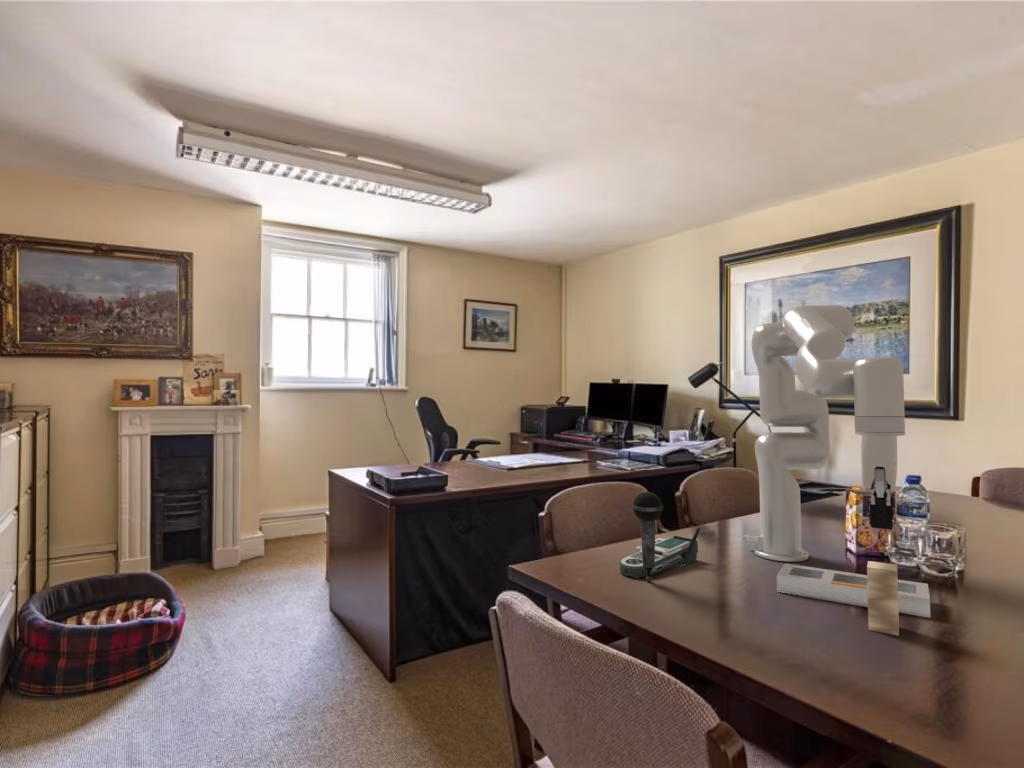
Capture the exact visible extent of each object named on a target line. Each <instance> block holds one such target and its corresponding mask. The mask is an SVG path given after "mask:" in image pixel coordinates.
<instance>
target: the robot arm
mask: <svg viewBox="0 0 1024 768" xmlns="http://www.w3.org/2000/svg"><path fill="white" fill-rule="evenodd" d="M854 329H855V317H854V315H853V314H852V312H851V311H850V309H848V308H847V307H845V306H843V305H838V304H827V305H825V304H823V305H822V304H818V305H814V304H813V305H812V304H811V305H801V306H796V307H793V308H791V309H790V310H788V311H787V312H786V313H785V315H784V317H783V318H782V321H778V322H777V321H776V322H775V321H774V322H769V323H764V324H763V323H762V324H761V325H759V326H757V327H756V328H755V330H754V331H753V334H752V337H751V351H752V356H753V360H754V363H755V366H756V368H757V371H758V372H757V373H758V382H759V383H758V386H759V389H758V390H759V392H758V393H759V414H760V420H761V421H762V423H763V424H764V425H766V426H768V427H774V428H803V430H804V431H802V432H800V431H799V432H792V431H790V432H789V431H788V432H787V431H785V432H779V431H778V432H776V431H775V432H767V433H763V434H762V435H759V436H758V438H756V440H755V442H754V454H755V459H756V460H755V461H756V464H757V472H758V479H759V480H758V483H759V485H758V486H759V516H760V517H759V523H760V525H759V527H760V530H759V531H760V534H759V535H758V534H757V535H756V536H755V535H750V534H749V535H748V534H744V535H743V537H742V538H743V539H742V540H743V542H744V543H745V544H748V545H755V547H754V549H753V551H754V554H755V555H757V556H759V557H761V558H764V559H766V560H771V561H779V562H790V563H791V562H795V563H796V562H803V561H807V560H808V559H809V551H806V550H805V549H802V522H801V521H802V520H801V519H802V518H801V517H802V516H801V514H802V513H801V512H802V510H801V489H800V485H799V482H798V481H797V480H796V479H795V478H794V477H793V475H792V473H791V472H790V471H792V470H793V471H794V470H819V469H824V467H826V466H827V465H828V463H829V461H830V454H831V450H830V449H831V445H830V443H831V442H830V441H831V439H830V415H829V406H828V402H827V400H826V399H830V400H831V399H853V400H854V403H853V404H854V410H853V411H854V435H859V436H861V443H860V444H861V446H860V447H861V452H860V453H861V455H860V457H861V458H860V459H861V462H860V463H861V490H862V491H864V492H867V490H869V489H870V495H871V496H870V503H869V517H870V518H869V519H870V521H869V523H870V527H871V528H872V529H881V530H890V531H891V530H893V528H894V521H893V520H894V504H893V503H894V500H893V499H894V498H893V496H892V494H893V493H894V492H895V490H896V485H897V475H898V437H899V436H900V437H901V436H906V422H905V421H906V420H905V417H906V416H905V390H904V388H905V387H904V383H905V382H904V363H902V361H901V360H900V358H897V357H892V356H881V357H879V356H878V357H877V356H876V357H875V356H873V357H864V358H858V359H854V358H852V359H851V358H850V359H849V358H848V359H845V358H843V359H838V358H839V357H840V356H841V354H842V353H843V352H844V349H845V347H846V341H847V340H849V338H850V337H851V336H852V334H853V332H854ZM786 356H787V357H792V356H793V357H795V361H794V364H795V366H794V367H795V371H794V368H793V367H792V365H791V364H790V363H789V361H788V360H787V359H785V357H786ZM796 377H797V379H798V381H799V383H801V385H802V386H803V388H804V389H805V390H803V389H800V390H799V389H798V390H797V389H796Z"/></svg>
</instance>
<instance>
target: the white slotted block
mask: <svg viewBox="0 0 1024 768" xmlns="http://www.w3.org/2000/svg"><path fill="white" fill-rule="evenodd" d="M780 592H781V594H785V593H787V594H786V595H791V594H792V596H797V595H798V597H804V598H810V599H816V600H821V601H829V602H834V603H839V604H846V605H851V606H858V607H864V608H868V587H867V574H860V573H854V572H848V571H840V570H834V569H826V568H819V567H818V568H817V567H814V566H813V567H812V566H811V567H810V566H805V565H798V564H790V563H784V564H783V565H782V567H781V568H780V570H779V571H778V573H777V575H776V593H780ZM898 611H899V614H904V615H911V616H915V617H916V616H917V617H921V618H929V619H931V598H930V590H929V584H928V583H924V582H917V581H911V580H904V579H898Z"/></svg>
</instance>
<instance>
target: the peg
mask: <svg viewBox="0 0 1024 768" xmlns="http://www.w3.org/2000/svg"><path fill="white" fill-rule="evenodd" d="M866 575H867V587H868V607H867V615H868V616H867V619H868V620H867V621H868V623H867V624H868V626H867V627H868V631H873V632H877V633H883V634H888V635H894V636H900V621H899V620H900V617H899V616H900V615H899V614H900V613H899V611H898V580H899V579H898V576H899V575H898V564H896V563H895V564H894V563H887V562H881V561H880V562H879V561H870V560H868V561H867V565H866Z"/></svg>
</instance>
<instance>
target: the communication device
mask: <svg viewBox="0 0 1024 768" xmlns="http://www.w3.org/2000/svg"><path fill="white" fill-rule="evenodd" d="M700 531H701V528H700V527H697V529H696V531H695V532H694V535H693V536H692V538H688V537H683V536H679V535H673V537H668V538H663V537H658V538H655V567H654V568H652V570H650V576H651V575H652V576H654V575H656V574H655V573H657V574H658V572H659V573H661V572H663V571H665V570H668V569H669V568H672V567H673V566H681V565H684V564H686V565H688V564H687V563H689V564H691V563H693V562H695V561H696V560H697V558H698V552H699V549H698V548H699V545H698V540H697V538H698V536H699V533H700ZM692 561H693V562H692ZM690 562H691V563H690ZM684 566H685V565H684ZM660 571H661V572H660ZM619 572H620V574H622V575H623V574H624V575H623V576H625V575H627V576H632V577H647V570H646V569H645V567H643V561H642V544H641V545H637V546H635V553H633V554H630V555H628V556H625V557H624V558H622V559H620V561H619ZM653 574H654V575H653ZM627 576H626V577H627ZM652 576H651V577H652ZM632 577H631V578H632Z"/></svg>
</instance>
